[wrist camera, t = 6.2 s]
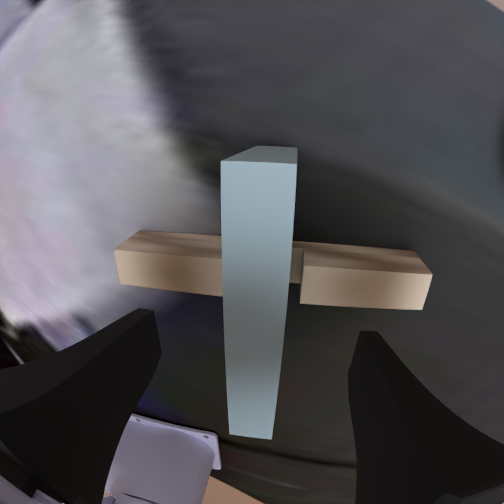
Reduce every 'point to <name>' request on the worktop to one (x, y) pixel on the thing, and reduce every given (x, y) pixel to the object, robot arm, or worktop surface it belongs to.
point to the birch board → (301, 270)
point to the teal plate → (256, 280)
